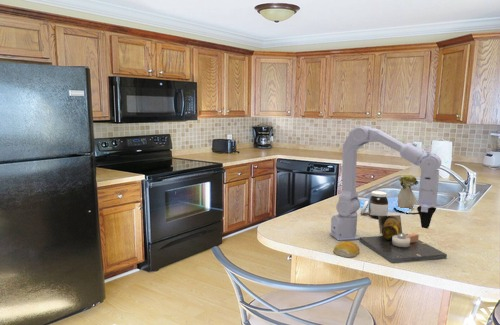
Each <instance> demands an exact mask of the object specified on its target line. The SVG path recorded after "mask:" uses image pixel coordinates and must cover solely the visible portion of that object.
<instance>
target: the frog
mask: <svg viewBox="0 0 500 325" xmlns="http://www.w3.org/2000/svg"><path fill="white" fill-rule="evenodd" d="M398 181H399V182H400V183H399V184H400V186H401V187H402V188H401V189H400V190H399V192H398V195H397V203H398V207H400V208H409V209H411V211H407V213H408V214H419V212H418V210H417V208H418V207H417V202H418V199H417V197H416V196H415V193H414V192H413V191H414V189H413V188H412V187H415V186H417V185H419V184H420V181H418V180H417V177H416V176H414V175H411V174H405V175H403V176H401V177H400V178H399V179H398ZM413 207H414V208H413ZM402 211H403V210H402ZM404 212H405V211H404Z"/></svg>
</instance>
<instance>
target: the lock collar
mask: <svg viewBox="0 0 500 325" xmlns="http://www.w3.org/2000/svg"><path fill="white" fill-rule="evenodd" d="M419 235H420V234H418V233H411V234H408V235H406V238H398V237H397V235H394V236H393V237H392V244H393V245H395V246H398V247H409V246H410V243H412V242H416V241H418V240H419V238H420V237H419Z"/></svg>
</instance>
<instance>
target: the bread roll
mask: <svg viewBox="0 0 500 325" xmlns="http://www.w3.org/2000/svg"><path fill="white" fill-rule="evenodd" d="M333 252H334V254H335V255H337V256H340V257H343V258H354V257H356V256H357V255H358V254H360V248H359V246H358V244H356V243H355V242H353V241H351V240H350V241H349V240H344V241H341V242H338V243H337V244H336V245H334V246H333Z"/></svg>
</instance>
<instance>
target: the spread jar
mask: <svg viewBox="0 0 500 325" xmlns="http://www.w3.org/2000/svg"><path fill="white" fill-rule="evenodd" d="M387 196H388V193H387V192H385V191H380V190H373V191H371V195H370V197H369V200H365V202H364V204H363V206H362V209H361V211H360V214H361V215H364V214H365V212H366V210H367V209H368V215H369V217H370V218H373V219H378V216H388V212H389V201H388V198H387Z"/></svg>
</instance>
